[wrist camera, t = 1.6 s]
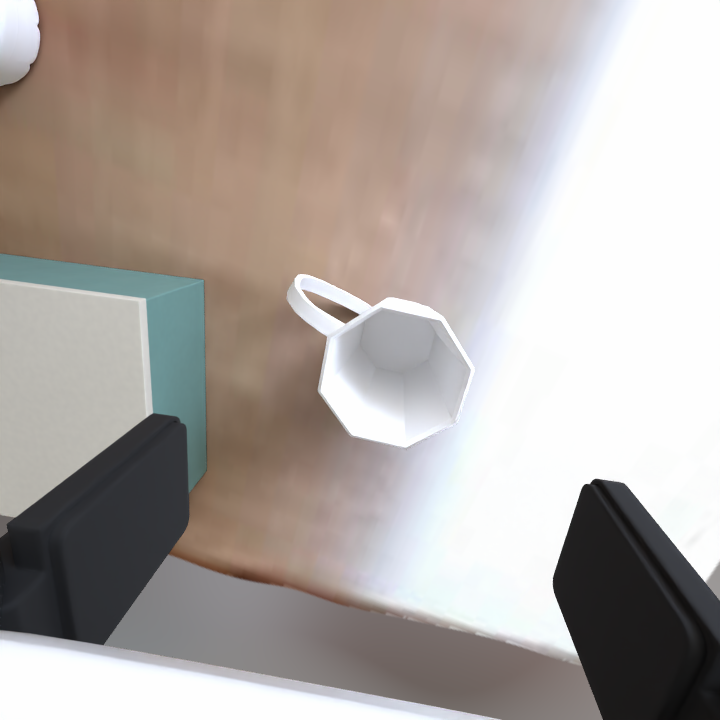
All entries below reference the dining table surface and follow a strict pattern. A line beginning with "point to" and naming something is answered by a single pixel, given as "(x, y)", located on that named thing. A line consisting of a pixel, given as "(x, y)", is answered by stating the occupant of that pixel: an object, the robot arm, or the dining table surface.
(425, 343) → the cup
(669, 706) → the robot arm
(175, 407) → the stand
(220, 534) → the dining table surface
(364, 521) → the dining table surface
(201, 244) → the dining table surface
